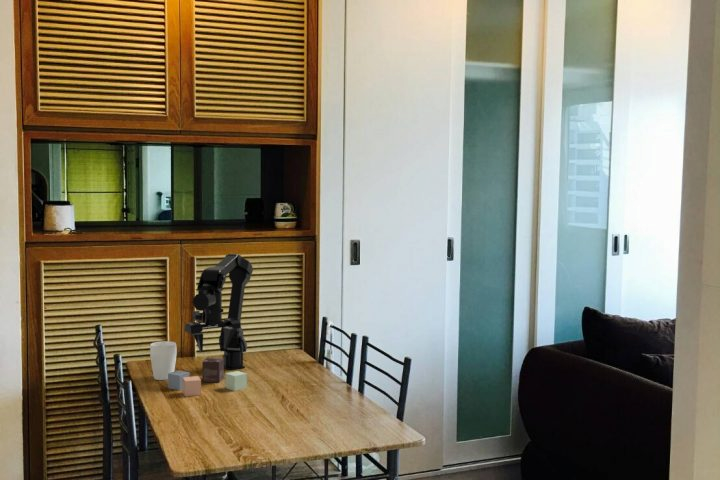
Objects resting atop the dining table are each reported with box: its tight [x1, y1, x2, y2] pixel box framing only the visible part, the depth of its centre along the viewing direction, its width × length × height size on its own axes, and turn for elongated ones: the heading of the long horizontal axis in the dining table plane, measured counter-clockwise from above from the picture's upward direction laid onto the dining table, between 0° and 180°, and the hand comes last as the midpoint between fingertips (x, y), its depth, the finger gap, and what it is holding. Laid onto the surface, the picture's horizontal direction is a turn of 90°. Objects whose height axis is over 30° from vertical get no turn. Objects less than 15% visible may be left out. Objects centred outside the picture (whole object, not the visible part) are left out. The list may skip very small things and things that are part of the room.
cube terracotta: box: [182, 375, 202, 397], centre depth 259 cm, size 5×5×5 cm
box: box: [201, 357, 225, 383], centre depth 276 cm, size 6×6×7 cm
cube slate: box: [167, 369, 191, 391], centre depth 266 cm, size 5×5×5 cm
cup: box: [149, 340, 178, 381], centre depth 277 cm, size 9×9×12 cm
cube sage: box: [225, 370, 248, 392], centre depth 267 cm, size 5×5×5 cm
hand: (213, 350), depth 275 cm, fingers open, 9 cm apart
